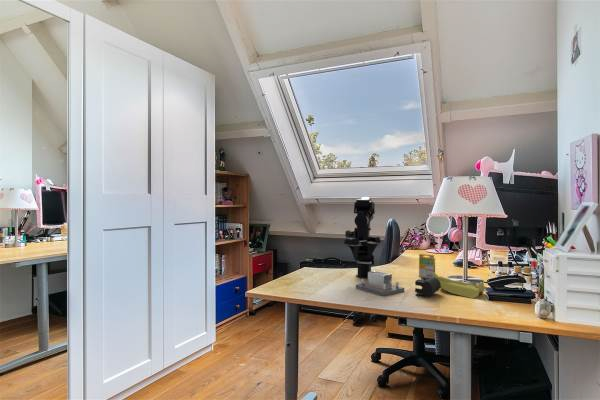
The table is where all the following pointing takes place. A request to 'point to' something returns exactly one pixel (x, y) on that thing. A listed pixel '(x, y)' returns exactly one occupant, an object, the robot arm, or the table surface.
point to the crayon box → (426, 266)
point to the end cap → (427, 286)
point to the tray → (380, 291)
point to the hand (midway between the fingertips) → (362, 258)
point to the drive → (379, 279)
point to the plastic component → (460, 287)
